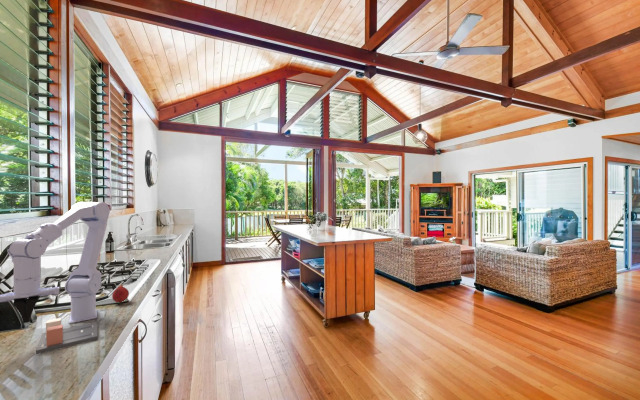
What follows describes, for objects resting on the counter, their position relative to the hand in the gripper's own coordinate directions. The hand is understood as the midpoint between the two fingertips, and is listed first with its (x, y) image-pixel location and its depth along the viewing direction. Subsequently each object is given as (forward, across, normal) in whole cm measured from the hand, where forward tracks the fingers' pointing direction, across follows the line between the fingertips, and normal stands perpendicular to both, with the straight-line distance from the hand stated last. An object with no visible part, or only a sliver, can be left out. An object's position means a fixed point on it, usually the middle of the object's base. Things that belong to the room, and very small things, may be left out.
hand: (26, 321), depth 87 cm
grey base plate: (+7, +10, -3) cm, 13 cm away
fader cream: (+6, +6, 0) cm, 8 cm away
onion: (+7, +25, +24) cm, 35 cm away
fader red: (+6, +7, -7) cm, 11 cm away
